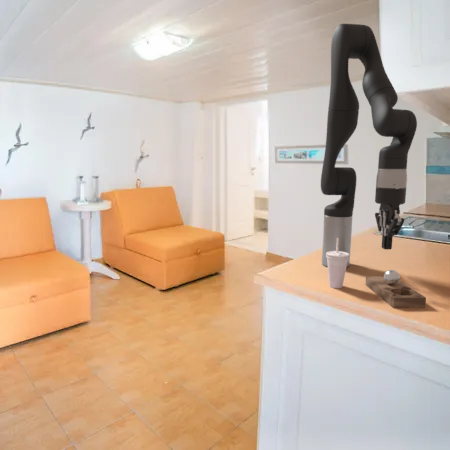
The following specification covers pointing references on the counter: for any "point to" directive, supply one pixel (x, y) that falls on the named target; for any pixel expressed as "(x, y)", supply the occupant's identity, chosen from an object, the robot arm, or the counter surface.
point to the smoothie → (336, 266)
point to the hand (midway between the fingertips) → (386, 248)
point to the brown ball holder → (395, 293)
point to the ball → (391, 277)
